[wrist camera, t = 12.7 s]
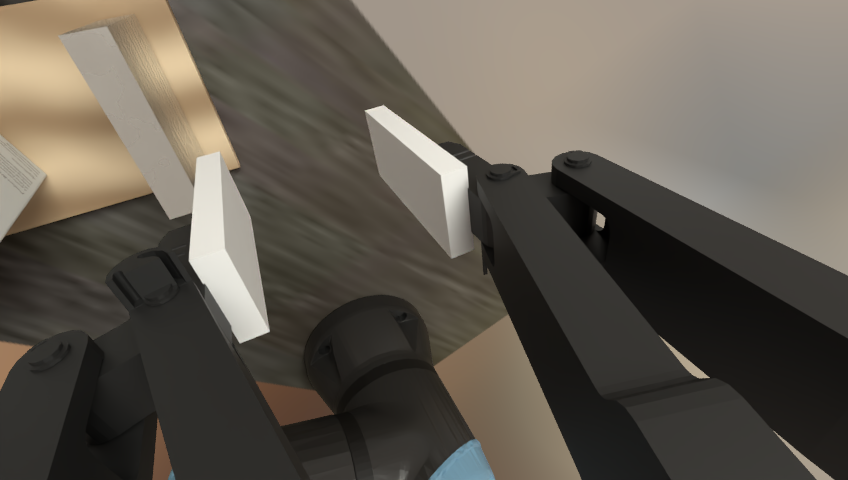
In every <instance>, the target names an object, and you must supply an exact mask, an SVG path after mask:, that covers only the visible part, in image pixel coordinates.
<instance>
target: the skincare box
mask: <svg viewBox="0 0 848 480" xmlns="http://www.w3.org/2000/svg"><path fill="white" fill-rule="evenodd" d="M46 176H47V175H46V173H45V172H43V171H42V170H41V169H40V168H39V167H38V166H36V165H35V164H34V163H33V162H32V161H31V160H29V159H28V158H27V157H26V156H25V155H24V154H22V153H21V152H20V151H19V150H18V149H17V148H15V147H14V146H13V145H12V144H11V143H10V142H8V141H7V140H6V139H5V138H4V137H3V136H1V135H0V242H1V241H2V239H3V238H4V236H5V235H6V233H7V232H8V231H9V229H10V228H11V226H12V225H13V224H14V222H15V221H16V219H17V218H18V216H19V215H20V214H21V212H22V211H23V209H24V208H25V207H26V205H27V204H28V202H29V201H30V199H31V198H32V196H33V195H34V194H35V192H36V191H37V189H38V188H39V186H40V185H41V184H42V182H43V180H44V179H45V178H46Z"/></svg>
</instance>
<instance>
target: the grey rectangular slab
mask: <svg viewBox="0 0 848 480" xmlns="http://www.w3.org/2000/svg"><path fill="white" fill-rule="evenodd" d="M58 37H59V38H60V40H61V42H62V43H63V45H64V47H65V48H66V50H67V52H68V53H69V55H70V56H71V58H72V60H73V61H74V63H75V65H76V66H77V68H78V70H79V71H80V73H81V74H82V76H83V78H84V79H85V81H86V83H87V84H88V86H89V88H90V89H91V91H92V93H93V94H94V96H95V97H96V99H97V101H98V102H99V104H100V106H101V107H102V109H103V111H104V112H105V114H106V115H107V117H108V119H109V120H110V122H111V124H112V125H113V127H114V129H115V130H116V132H117V134H118V135H119V137H120V138H121V140H122V142H123V143H124V145H125V147H126V148H127V150H128V152H129V153H130V155H131V157H132V158H133V160H134V161H135V163H136V165H137V166H138V168H139V170H140V171H141V173H142V175H143V176H144V178H145V179H146V181H147V183H148V184H149V186H150V188H151V189H152V191H153V193H154V194H155V196H156V198H157V199H158V201H159V202H160V204H161V206H162V207H163V209H164V211H165V212H166V214H167V216H168V217H169V219H174V218H177V217H180V216H183V215H186V214H190V213H192V212H193V199H194V186H195V173H196V161H197V158H198V157H201V156H205V155H204V153H203V151H202V149H201V147H200V145H199V143H198V141H197V139H196V137H195V135H194V133H193V131H192V129H191V126H190V124H189V122H188V120H187V118H186V116H185V114H184V112H183V110H182V108H181V106H180V104H179V102H178V100H177V98H176V96H175V94H174V92H173V90H172V88H171V86H170V84H169V82H168V80H167V78H166V76H165V74H164V72H163V70H162V68H161V66H160V64H159V62H158V60H157V58H156V56H155V54H154V52H153V50H152V48H151V46H150V44H149V41H148V39H147V37H146V35H145V33H144V31H143V29H142V27H141V25H140V23H139V21H138V19H137V17H136V15H135V14H130V15H125V16H120V17H114V18H109V19H104V20H99V21H96V22H94V23H91V24H88V25H85V26H83V27H80V28H77V29H75V30H72V31H69V32H67V33H64V34H61V35H58Z"/></svg>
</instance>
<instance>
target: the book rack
mask: <svg viewBox="0 0 848 480" xmlns="http://www.w3.org/2000/svg"><path fill="white" fill-rule="evenodd" d="M130 14H135V15H136V17H137V19H138V21H139V23H140V25H141V27H142V29H143V31H144V33H145V35H146V37H147V39H148V41H149V44H150V46H151V48H152V50H153V52H154V54H155V56H156V58H157V60H158V62H159V64H160V66H161V68H162V70H163V72H164V74H165V76H166V78H167V80H168V82H169V84H170V86H171V88H172V90H173V92H174V94H175V96H176V98H177V100H178V102H179V104H180V106H181V108H182V110H183V112H184V114H185V116H186V118H187V120H188V122H189V124H190V126H191V129H192V131H193V133H194V135H195V137H196V139H197V141H198V143H199V145H200V147H201V149H202V151H203V153H204V155H208V154H212V153H215V152H219V151H220V153H221V155H222V157H223V159H224V161H225V164H226V166H227V168H228V170H232V169H236V168H239V167H240V163H239V160H238V158H237V156H236V154H235V151H234V149H233V147H232V145H231V142H230V140H229V138H228V136H227V133H226V131H225V129H224V127H223V124H222V122H221V120H220V118H219V115H218V113H217V111H216V109H215V106H214V104H213V102H212V100H211V97H210V95H209V93H208V91H207V88H206V86H205V84H204V82H203V79H202V77H201V75H200V73H199V70H198V68H197V66H196V64H195V61H194V59H193V57H192V55H191V52H190V50H189V48H188V46H187V43H186V41H185V39H184V37H183V34H182V32H181V30H180V28H179V25H178V23H177V21H176V19H175V16H174V14H173V12H172V10H171V7H170V5H169V3H168V1H167V0H37V1H31V2H25V3H19V4H13V5H7V6H1V7H0V135H1V136H3V137H4V138H5V139H6V140H7V141H8V142H10V143H11V144H12V145H13V146H14V147H15V148H17V149H18V150H19V151H20V152H21V153H22V154H24V155H25V156H26V157H27V158H28V159H29V160H31V161H32V162H33V163H34V164H35V165H36V166H38V167H39V168H40V169H41V170H42V171H43V172H45V173H46V175H47V176H46V178H45V179H44V180H43V182H42V184H41V185H40V186H39V188H38V189H37V191H36V192H35V194H34V195H33V196H32V198H31V199H30V201H29V202H28V204H27V205H26V207H25V208H24V209H23V211H22V212H21V214H20V215H19V216H18V218H17V219H16V221H15V222H14V224H13V225H12V226H11V228H10V229H9V231H8V232H7V233H6V235H5V236H7V235H10V234H14V233H17V232H21V231H24V230H28V229H31V228H34V227H38V226H41V225H45V224H48V223H51V222H55V221H58V220H62V219H65V218H69V217H72V216H75V215H79V214H82V213H86V212H89V211H92V210H96V209H99V208H103V207H106V206H110V205H113V204H116V203H120V202H123V201H127V200H130V199H133V198H137V197H140V196H144V195H147V194H150V193H153V191H152V189H151V188H150V186H149V184H148V183H147V181H146V179H145V178H144V176H143V175H142V173H141V171H140V170H139V168H138V166H137V165H136V163H135V161H134V160H133V158H132V157H131V155H130V153H129V152H128V150H127V148H126V147H125V145H124V143H123V142H122V140H121V138H120V137H119V135H118V134H117V132H116V130H115V129H114V127H113V125H112V124H111V122H110V120H109V119H108V117H107V115H106V114H105V112H104V111H103V109H102V107H101V106H100V104H99V102H98V101H97V99H96V97H95V96H94V94H93V93H92V91H91V89H90V88H89V86H88V84H87V83H86V81H85V79H84V78H83V76H82V74H81V73H80V71H79V70H78V68H77V66H76V65H75V63H74V61H73V60H72V58H71V56H70V55H69V53H68V52H67V50H66V48H65V47H64V45H63V43H62V42H61V40H60V38H59V37H58V35H61V34H64V33H67V32H69V31H72V30H75V29H77V28H80V27H83V26H85V25H88V24H91V23H94V22H96V21H99V20H104V19H109V18H114V17H120V16H125V15H130Z"/></svg>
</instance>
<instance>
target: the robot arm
mask: <svg viewBox="0 0 848 480" xmlns="http://www.w3.org/2000/svg"><path fill="white" fill-rule="evenodd" d="M365 113H366V118H367V122H368V127H369V131H370V135H371V140H372V144H373V148H374V153H375V157H376V162H377V166H378V170H379V175H380V176H381V177H382V179H383V180H384V181H385V182H386V183H387V184H388V186H389V187H390V188H391V189H392V190H393V191H394V192H395V194H396V195H397V196H398V197H399V198H400V199H401V201H402V202H403V203H404V204H405V205H406V206H407V208H408V209H409V210H410V211H411V212H412V213H413V215H414V216H415V217H416V218H417V219H418V220H419V221H420V223H421V224H422V225H423V226H424V227H425V228H426V230H427V231H428V232H429V233H430V234H431V235H432V237H433V238H434V239H435V240H436V241H437V242H438V244H439V245H440V246H441V247H442V248H443V249H444V250H445V252H446V253H447V254H448V255H449V256H450V257H451V259H452V258H455V257H457V256H459V255H462V254H464V253H467V252H469V251H472V250H474V241H473V234H474V235H475V236H476V237H477V238H478V239H479V240H481V246H482V260H483V272H484V275H485V274H487V268H488V269H489V271H490V273H491V276H492V278H493V280H494V282H495V285H496V287H497V289H498V291H499V294H500V296H501V298H502V300H503V303H504V305H505V307H506V309H507V312H508V314H509V316H510V318H511V321H512V323H513V325H514V327H515V330H516V332H517V334H518V336H519V339H520V341H521V343H522V345H523V348H524V350H525V352H526V354H527V357H528V359H529V361H530V363H531V366H532V368H533V370H534V372H535V375H536V377H537V379H538V382H539V383H540V386H541V388H542V390H543V393H544V395H545V397H546V399H547V402H548V404H549V406H550V408H551V411H552V413H553V415H554V418H555V420H556V422H557V424H558V427H559V429H560V431H561V433H562V436H563V438H564V440H565V442H566V445H567V447H568V449H569V451H570V454H571V456H572V458H573V460H574V463H575V465H576V467H577V469H578V472H579V474H580V476H581V479H582V480H816V479H815V478H814V476H813V475H812V474H811V473H810V472H809V471H808V470H807V468H806V467H805V466H804V465H803V464H802V463H801V462H800V461H799V460H798V458H797V457H796V456H795V455H794V454H793V453H792V452H791V451H790V449H789V448H788V447H787V446H786V445H785V444H784V443H783V442H782V440H781V439H780V438H779V437H778V436H777V435H776V434H775V433H774V432H773V430H774V431H775V432H776V433H777V434H778V435H780V436H781V437H782V438H783V439H784V440H786V441H787V442H788V443H789V444H790V445H792V446H793V447H794V448H795V449H796V450H798V451H799V452H800V453H801V454H803V455H804V456H805V457H806V458H807V459H809V460H810V461H811V462H813V463H814V464H815V465H816V466H818V467H819V468H820V469H822V470H823V471H824V472H825V473H827V474H828V475H829V476H831V477H832V478H833V479H834V480H848V276H847V275H845V274H843V273H841V272H839V271H837V270H835V269H833V268H831V267H829V266H827V265H825V264H822V263H821V262H818V261H816V260H814V259H812V258H810V257H808V256H806V255H804V254H801V253H800V252H798V251H796V250H794V249H791V248H789V247H787V246H785V245H783V244H781V243H779V242H777V241H775V240H773V239H770V238H768V237H767V236H764V235H762V234H760V233H758V232H756V231H754V230H752V229H750V228H748V227H746V226H744V225H742V224H740V223H737V222H735V221H733V220H731V219H729V218H727V217H725V216H723V215H721V214H719V213H716V212H715V211H712V210H710V209H708V208H706V207H704V206H702V205H700V204H698V203H696V202H694V201H692V200H690V199H688V198H686V197H683V196H681V195H679V194H677V193H675V192H673V191H671V190H669V189H667V188H665V187H663V186H660V185H659V184H656V183H654V182H652V181H650V180H648V179H646V178H644V177H642V176H640V175H638V174H636V173H634V172H632V171H629V170H627V169H625V168H623V167H621V166H619V165H617V164H615V163H613V162H611V161H609V160H606V159H605V158H603V157H600V156H598V155H596V154H593V153H590V152H583V151H569V152H566V153H562V154H560V155H558V156H556V157H555V158H554V159H553V160H552V172H548V173H541V174H535V175H527V173H526V172H525V171H524V170H523V169H522V168H521V167H519V166H516V165H513V164H494V165H491V164H489V163H488V162H486V161H485V160H483V159H482V158H480V157H479V156H477V155H475V154H474V153H473V152H471V151H469V150H468V149H467V148H465V147H464V146H462V145H461V144H457V143H453V142H449V141H448V142H444V143H441V144H438V145H437V144H436V143H434V142H433V141H432V140H430V139H429V138H427V137H426V136H425V135H423V134H422V133H421V132H419V131H418V130H417V129H415V128H414V127H412V126H411V125H410V124H408V123H407V122H406V121H404V120H403V119H401V118H400V117H399V116H397V115H396V114H395V113H393V112H392V111H390V110H389V109H388V108H386V107H385V106H384V105H383V106H380V107H376V108H373V109H369V110H365ZM597 212H599V213H601V214H602V215H603V216H604V217H605V218H606V219H605V226H604V228H602V227H599V226H598V225H597V224H596V218H597ZM105 283H106V284H107V286H108V287H109V288H110V289H111V290H112V292H113V293H114V294H115V295H116V297H117V298H118V299H119V300H120V302H121V303H122V304H123V305H124V306H125V308H126V309H127V310H128V311H129V315H130V319H129V320H128V321H126V322H125V323H123V324H121V325H120V326H118V327H117V328H115V329H113V330H111V331H109V332H108V333H106V334H104V335H102V336H100V337H98V338H97V339H95V340H92V339H91V338H90V337H89V336H88V335H87V334H86V333H85V332H83V331H76V330H71V331H68V332H64V333H60V334H57V335H55V336H53V337H51V338H49V339H45V340H43V341H41V342H40V343H38V345H35V346H33V347H32V348H31V349H29V350H28V351H27V353H25V354H24V355H23V356H22V357H21V358H20V359H19V360H18V361H17V362H16V363H15V365H14V366H13V367H12V369H11V370H10V372H9V374H8V376H7V378H6V380H5V382H4V384H3V387H2V389H1V391H0V480H152V476H153V465H154V453H155V442H156V430H157V418H158V419H159V422H160V426H161V430H162V433H163V437H164V441H165V444H166V448H167V451H168V455H169V459H170V462H171V466H172V470H171V473H170V475H169V478H168V480H495V477H494V475H493V472H492V470H491V468H490V466H489V464H488V462H487V460H486V457H485V455H484V454H483V451H482V449H481V445H480V443H479V441H478V440H476V439H475V437H474V436H473V434H472V432H471V431H470V429H469V427H468V425H467V424H466V422H465V420H464V418H463V417H462V415H461V413H460V412H459V410H458V408H457V406H456V405H455V403H454V401H453V400H452V398H451V396H450V395H449V393H448V391H447V389H446V388H445V386H444V384H443V383H442V381H441V379H440V378H439V376H438V374H437V372H436V371H435V369H434V367H433V361H432V355H431V349H430V342H429V336H428V331H427V328H426V325H425V323H424V321H423V319H422V318H421V316H420V314H419V313H418V311H417V310H416V309H415V307H414V306H413V305H411V304H410V303H409V302H407V301H405V300H403V299H401V298H398V297H394V296H386V295H378V296H369V297H364V298H361V299H357V300H355V301H352V302H350V303H347V304H345V305H343V306H341V307H340V308H338V309H336V310H335V311H333V312H332V313H331V314H329V315H328V316H327V317H326V318H325V319H323V320H322V321H321V322H320V323H319V325H318V326H317V327H316V328H315V330H314V331H313V332H312V334H311V336H310V337H309V339H308V342H307V344H306V348H305V353H304V361H305V366H306V370H307V374H308V378H309V380H310V382H311V384H312V386H313V388H314V389H315V390H316V391H317V393H318V394H319V395H320V396H321V398H322V399H323V400H324V402H325V403H326V404H327V405H328V407H329V408H330V409H331V410H332V412H333V413H334V414H335V415H329V416H324V417H320V418H315V419H311V420H307V421H302V422H298V423H293V424H289V425H285V426H280V425H279V423H278V421H277V419H276V418H275V416H274V414H273V412H272V410H271V409H270V407H269V405H268V403H267V402H266V400H265V398H264V396H263V395H262V393H261V391H260V389H259V387H258V386H257V384H256V382H255V380H254V379H253V377H252V375H251V373H250V371H249V370H248V368H247V366H246V364H245V363H244V361H243V359H242V357H241V356H240V354H239V352H238V351H237V349H236V347H235V346H234V344H233V343H232V331H233V333H234V335H235V336H236V338H237V339H238V341H239V343H243V342H245V341H248V340H250V339H253V338H255V337H257V336H260V335H262V334H265V333H267V332H270V330H269V324H268V318H267V312H266V306H265V300H264V294H263V288H262V282H261V276H260V270H259V264H258V258H257V252H256V246H255V240H254V234H253V228H252V222H251V217H250V215H249V213H248V211H247V208H246V206H245V204H244V202H243V200H242V198H241V196H240V193H239V191H238V189H237V187H236V185H235V183H234V181H233V178H232V176H231V174H230V172H229V170H228V168H227V166H226V164H225V161H224V159H223V157H222V155H221V153H220V151H219V152H215V153H212V154H208V155H205V156H201V157H198V158H197V161H196V173H195V186H194V199H193V212H192V224H191V225H188V226H184V227H181V228H178V229H175V230H172V231H169V232H168V233H167V234H166V235H165V236H164V238H163V239H162V240H161V241H160V243H159V246H158V247H156V248H151V249H147V250H144V251H141V252H139V253H136V254H134V255H132V256H130V257H128V258H126V259H125V260H123V261H122V262H120V263H119V264H118V265H116V266H115V267H114V268H113V269H112V270H111V271H110V272H109V274H108V275H107V277H106V281H105ZM659 336H660V337H662V338H663V339H664V340H665V341H666V342H668V343H669V344H670V345H671V346H672V347H674V348H675V349H676V350H677V351H678V352H680V353H681V354H682V355H683V356H684V357H686V358H687V359H688V360H689V361H690V362H692V363H693V364H694V365H695V366H697V367H698V368H699V369H700V370H701V371H703V372H704V373H705V374H706V375H707V376H709V377H710V378H702V379H699V378H697V377H695V376H693V375H692V374H691V373H689V372H688V371H687V370H686V369H685V367H684V366H683V365H682V364H681V363H680V361H679V360H678V359H677V358H676V356H675V355H674V354H673V353H672V351H671V350H670V349H669V348H668V347H667V345H666V344H665V343H664V342H663V340H662V339H661V338H660V337H659Z"/></svg>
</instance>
